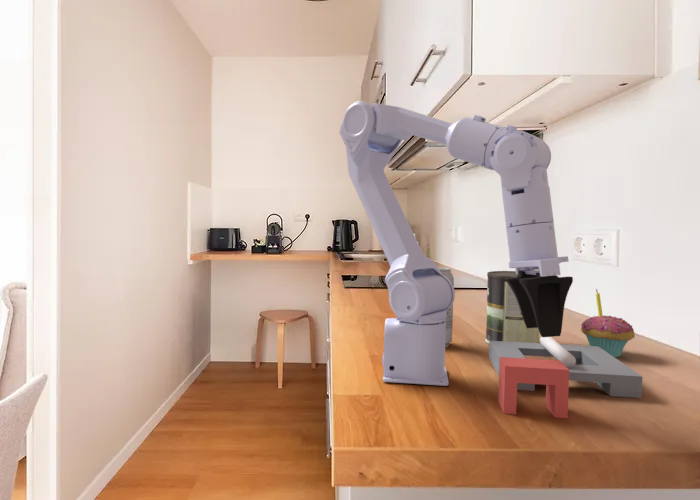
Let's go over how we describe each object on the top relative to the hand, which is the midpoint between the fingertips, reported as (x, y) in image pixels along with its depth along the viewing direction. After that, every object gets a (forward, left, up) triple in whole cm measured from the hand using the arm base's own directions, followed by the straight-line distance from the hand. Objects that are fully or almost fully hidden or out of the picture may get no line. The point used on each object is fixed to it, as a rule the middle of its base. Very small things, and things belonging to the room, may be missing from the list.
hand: (542, 331), depth 58 cm
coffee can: (+3, +34, -10) cm, 35 cm away
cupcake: (+19, +30, -10) cm, 36 cm away
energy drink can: (-12, +30, -10) cm, 33 cm away
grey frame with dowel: (+6, +15, -10) cm, 19 cm away
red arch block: (-1, 0, -10) cm, 10 cm away
